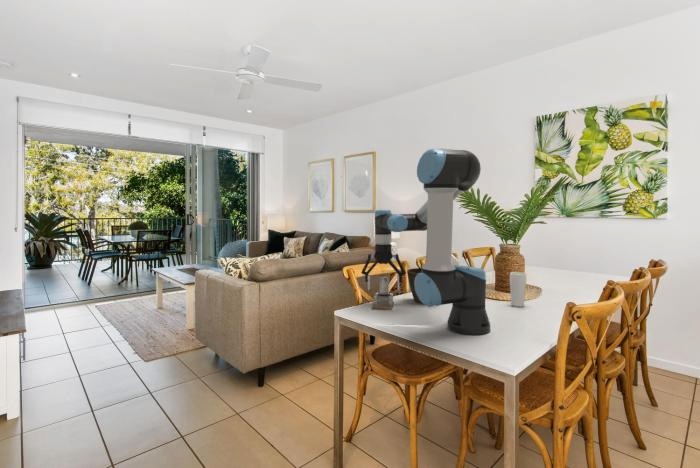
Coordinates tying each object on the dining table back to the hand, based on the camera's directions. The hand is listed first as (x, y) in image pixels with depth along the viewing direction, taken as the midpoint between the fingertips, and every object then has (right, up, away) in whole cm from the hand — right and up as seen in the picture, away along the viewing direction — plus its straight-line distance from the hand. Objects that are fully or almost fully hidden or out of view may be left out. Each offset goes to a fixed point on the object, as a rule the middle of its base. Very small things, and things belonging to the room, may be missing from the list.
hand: (383, 289), depth 169 cm
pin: (0, -7, 0) cm, 7 cm away
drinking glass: (+61, -7, -2) cm, 61 cm away
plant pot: (+19, -8, +3) cm, 20 cm away
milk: (+33, -7, +15) cm, 37 cm away
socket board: (-1, -8, -3) cm, 8 cm away
